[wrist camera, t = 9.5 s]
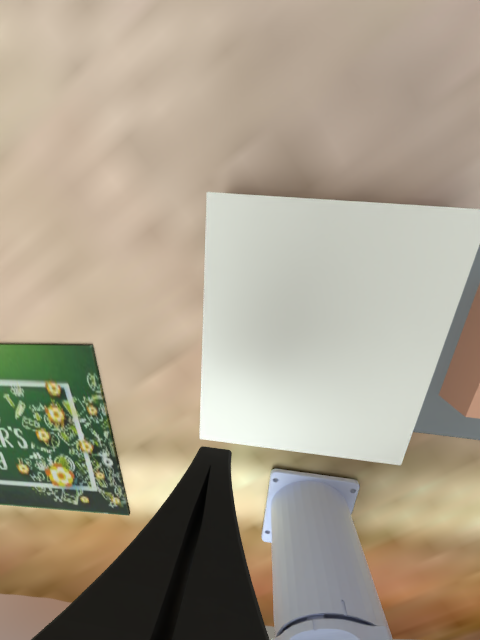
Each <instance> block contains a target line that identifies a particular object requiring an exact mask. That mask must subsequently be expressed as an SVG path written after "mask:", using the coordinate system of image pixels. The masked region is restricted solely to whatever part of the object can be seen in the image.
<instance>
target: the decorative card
mask: <svg viewBox="0 0 480 640" xmlns="http://www.w3.org/2000/svg"><path fill="white" fill-rule="evenodd" d="M0 505H10V506H22V507H34V508H46V509H58V510H70V511H82V512H94V513H106V514H118V515H129V514H130V511H129V506H128V502H127V497H126V493H125V488H124V484H123V479H122V475H121V470H120V466H119V461H118V457H117V452H116V448H115V443H114V439H113V434H112V429H111V425H110V420H109V416H108V411H107V407H106V402H105V398H104V393H103V389H102V384H101V380H100V375H99V371H98V366H97V362H96V357H95V353H94V348H93V345H66V344H0Z"/></svg>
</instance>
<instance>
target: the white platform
mask: <svg viewBox="0 0 480 640" xmlns="http://www.w3.org/2000/svg"><path fill="white" fill-rule="evenodd" d="M479 245H480V209H470V208H454V207H438V206H422V205H406V204H390V203H374V202H358V201H342V200H326V199H310V198H294V197H278V196H262V195H246V194H230V193H214V192H207V202H206V236H205V270H204V305H203V339H202V373H201V407H200V439H205V440H212V441H220V442H227V443H235V444H242V445H250V446H257V447H265V448H273V449H280V450H288V451H295V452H303V453H310V454H318V455H326V456H333V457H341V458H348V459H356V460H363V461H371V462H378V463H386V464H394V465H401V464H402V461H403V458H404V455H405V452H406V450H407V447H408V444H409V441H410V438H411V436H412V433H413V430H414V427H415V424H416V422H417V419H418V416H419V413H420V410H421V408H422V405H423V402H424V399H425V396H426V393H427V391H428V388H429V385H430V382H431V379H432V377H433V374H434V371H435V368H436V365H437V363H438V360H439V357H440V354H441V351H442V349H443V346H444V343H445V340H446V337H447V335H448V332H449V329H450V326H451V323H452V320H453V318H454V315H455V312H456V309H457V306H458V304H459V301H460V298H461V295H462V292H463V290H464V287H465V284H466V281H467V278H468V276H469V273H470V270H471V267H472V264H473V262H474V259H475V256H476V253H477V250H478V247H479Z"/></svg>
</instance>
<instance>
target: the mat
mask: <svg viewBox="0 0 480 640" xmlns="http://www.w3.org/2000/svg"><path fill="white" fill-rule="evenodd" d="M479 284H480V245H479V247H478V250H477V253H476V256H475V259H474V262H473V264H472V267H471V270H470V273H469V276H468V278H467V281H466V284H465V287H464V290H463V292H462V295H461V298H460V301H459V304H458V306H457V309H456V312H455V315H454V318H453V320H452V323H451V326H450V329H449V332H448V335H447V337H446V340H445V343H444V346H443V349H442V351H441V354H440V357H439V360H438V363H437V365H436V368H435V371H434V374H433V377H432V379H431V382H430V385H429V388H428V391H427V393H426V396H425V399H424V402H423V405H422V408H421V410H420V413H419V416H418V419H417V422H416V424H415V427H414V430H413V432H418V433H426V434H435V435H443V436H451V437H459V438H467V439H475V440H480V419H479V418H470V417H465V416H464V415H462V414H461V413H460V412H459V411H457V410H456V409H455V408H454V407H453V406H451V405H450V404H449V403H448V402H447V401H445V400H444V399H443V398H442V397H440V396H439V393H440V390H441V387H442V384H443V382H444V379H445V376H446V374H447V371H448V368H449V365H450V363H451V360H452V357H453V354H454V352H455V349H456V346H457V344H458V341H459V338H460V335H461V333H462V330H463V327H464V324H465V322H466V319H467V316H468V314H469V311H470V308H471V305H472V303H473V300H474V297H475V294H476V292H477V289H478V286H479Z"/></svg>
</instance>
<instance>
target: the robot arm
mask: <svg viewBox="0 0 480 640" xmlns="http://www.w3.org/2000/svg"><path fill="white" fill-rule="evenodd" d="M231 454H232V453H231V451H230V450H225V449H217V448H210V447H201V448H200V449H199V451H198V453H197V455H196V456H195V458H194V460H193V461H192V463H191V465H190V466H189V468H188V470H187V471H186V473H185V474H184V476H183V477H182V479H181V480H180V482H179V483H178V484H177V486H176V487H175V489H174V490H173V492H172V493H171V494H170V496H169V497H168V498H167V500H166V501H165V502H164V504H163V505H162V506H161V508H160V509H159V510H158V511H157V513H156V514H155V515H154V517H153V518H152V519H151V520H150V521H149V523H148V524H147V525H146V526H145V527H144V529H143V530H142V531H141V532H140V533H139V534H138V536H137V537H136V538H135V539H134V540H133V541H132V542H131V544H130V545H129V546H128V547H127V548H126V549H125V550H124V551H123V552H122V553H121V554H120V555H119V557H118V558H117V559H116V560H115V561H114V562H113V563H112V564H111V565H110V566H109V567H108V568H107V569H106V570H105V571H104V572H103V573H102V574H101V575H100V576H99V577H98V578H97V579H96V580H95V581H94V582H93V583H92V584H91V585H90V586H89V587H88V588H87V589H86V590H85V591H84V592H83V593H82V594H81V595H80V596H79V597H78V598H77V599H76V600H75V601H73V602H72V603H71V604H70V605H69V606H68V607H67V608H66V609H65V610H64V611H63V612H62V613H61V614H60V615H58V616H57V617H56V618H55V619H54V620H53V621H52V622H51V623H49V625H47V626H46V627H45V628H44V629H43V630H42V631H41V632H39V633H38V634H37V635H36V636H35V637H34V638H33V639H32V640H393V639H392V636H391V633H390V630H389V627H388V624H387V621H386V618H385V615H384V612H383V609H382V606H381V603H380V600H379V597H378V594H377V591H376V588H375V585H374V582H373V579H372V576H371V573H370V570H369V567H368V564H367V561H366V558H365V555H364V552H363V549H362V546H361V543H360V540H359V537H358V534H357V531H356V528H355V525H354V523H353V520H352V517H351V514H352V511H353V507H354V504H355V501H356V497H357V494H358V491H359V487H360V486H359V483H358V481H357V480H354V479H348V478H341V477H334V476H326V475H319V474H312V473H304V472H297V471H290V470H283V469H273V470H272V471H271V474H270V481H269V488H268V495H267V502H266V508H265V515H264V522H263V529H262V540H263V541H265V542H270V543H272V573H273V605H274V624H275V638H273V639H269V637H268V634H267V631H266V628H265V625H264V622H263V618H262V615H261V612H260V608H259V605H258V602H257V598H256V595H255V592H254V588H253V585H252V581H251V578H250V574H249V570H248V566H247V563H246V559H245V554H244V550H243V546H242V542H241V537H240V532H239V527H238V522H237V517H236V511H235V505H234V498H233V491H232V482H231ZM275 478H276V479H275Z"/></svg>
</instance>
